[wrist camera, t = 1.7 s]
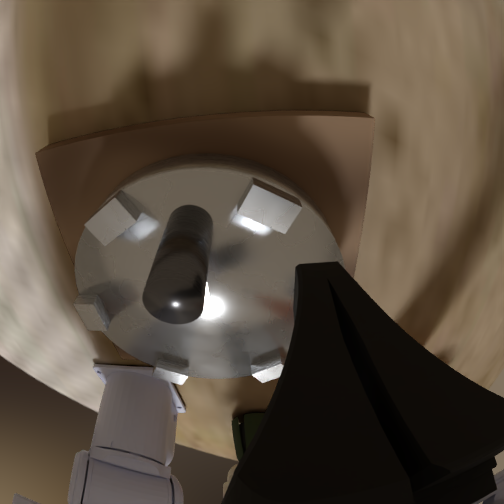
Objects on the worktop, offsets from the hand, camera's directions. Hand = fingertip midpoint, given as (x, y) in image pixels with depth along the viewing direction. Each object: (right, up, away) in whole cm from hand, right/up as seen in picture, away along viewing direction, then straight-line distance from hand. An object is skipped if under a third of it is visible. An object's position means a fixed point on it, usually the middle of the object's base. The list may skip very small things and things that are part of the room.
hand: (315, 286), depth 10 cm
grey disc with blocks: (-5, 0, +9) cm, 10 cm away
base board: (-5, +1, +10) cm, 11 cm away
